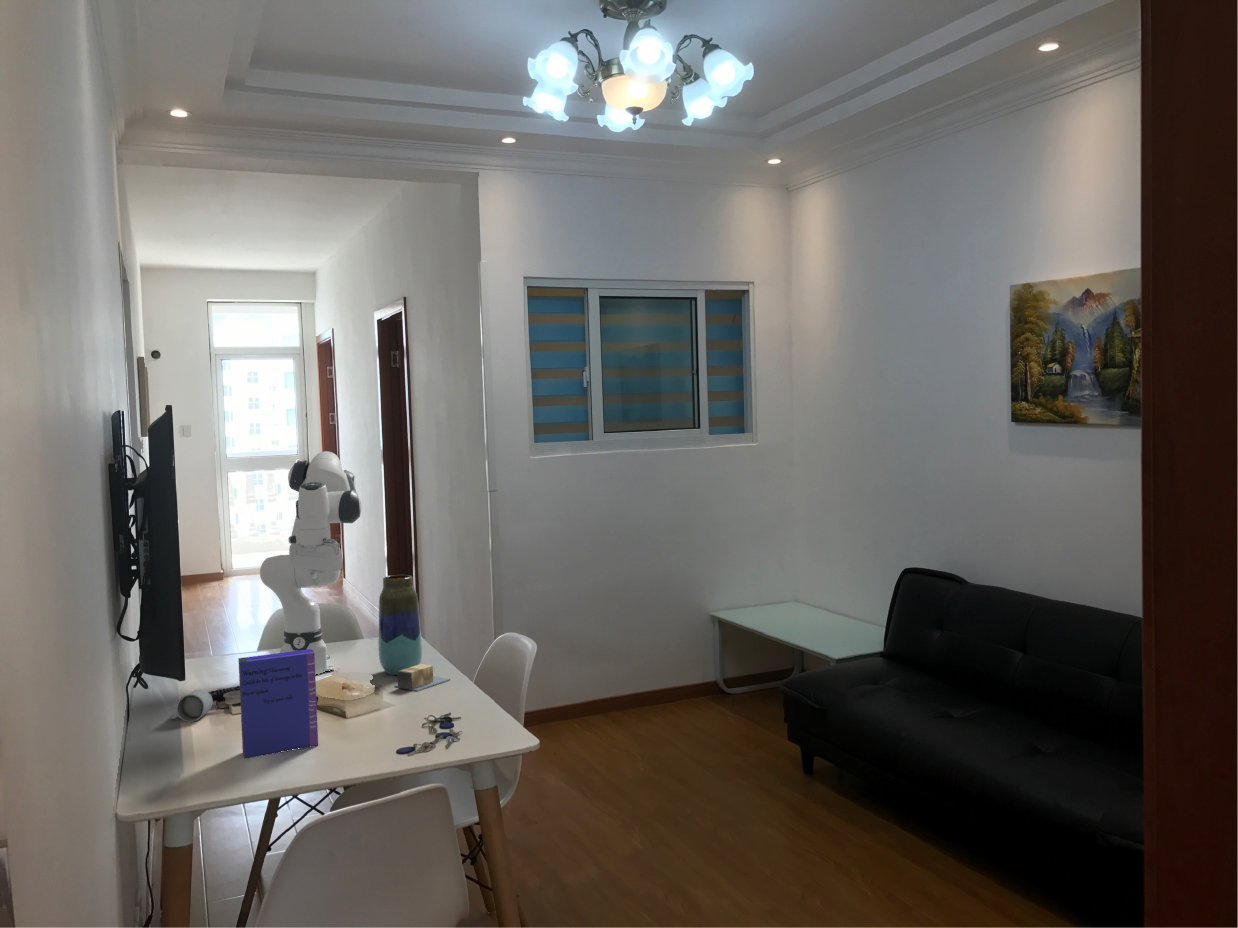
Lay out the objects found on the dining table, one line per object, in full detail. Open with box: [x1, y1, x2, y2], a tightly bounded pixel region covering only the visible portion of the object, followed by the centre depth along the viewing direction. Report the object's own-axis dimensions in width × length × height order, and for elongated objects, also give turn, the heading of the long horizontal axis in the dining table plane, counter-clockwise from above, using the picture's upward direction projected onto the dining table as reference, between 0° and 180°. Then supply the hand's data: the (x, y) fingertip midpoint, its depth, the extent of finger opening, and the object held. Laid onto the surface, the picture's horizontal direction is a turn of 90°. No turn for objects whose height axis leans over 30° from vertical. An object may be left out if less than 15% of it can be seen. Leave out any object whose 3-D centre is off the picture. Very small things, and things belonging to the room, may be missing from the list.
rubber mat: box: [394, 675, 451, 692], centre depth 297 cm, size 14×10×1 cm
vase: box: [377, 574, 423, 676], centre depth 310 cm, size 14×14×31 cm
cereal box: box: [238, 649, 319, 759], centre depth 239 cm, size 17×5×24 cm, turn 117°
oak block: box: [396, 663, 434, 691], centre depth 294 cm, size 5×5×10 cm
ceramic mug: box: [169, 689, 214, 723], centre depth 268 cm, size 11×8×8 cm
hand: (317, 584), depth 282 cm, fingers closed
